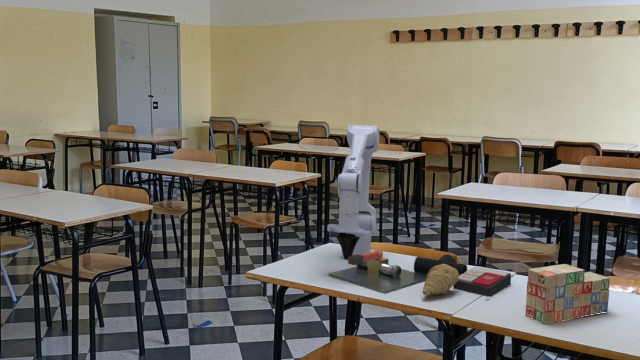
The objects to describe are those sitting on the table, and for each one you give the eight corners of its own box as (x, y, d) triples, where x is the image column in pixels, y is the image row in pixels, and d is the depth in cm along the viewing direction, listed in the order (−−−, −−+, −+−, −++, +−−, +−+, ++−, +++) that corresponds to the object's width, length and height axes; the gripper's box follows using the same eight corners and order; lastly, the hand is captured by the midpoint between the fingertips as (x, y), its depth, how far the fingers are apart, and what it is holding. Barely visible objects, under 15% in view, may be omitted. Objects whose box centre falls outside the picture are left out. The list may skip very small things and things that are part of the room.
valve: (328, 275, 179) (328, 259, 178) (375, 263, 193) (375, 248, 193) (384, 293, 163) (385, 276, 162) (431, 279, 177) (432, 262, 177)
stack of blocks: (587, 305, 157) (591, 260, 155) (607, 313, 151) (612, 266, 149) (524, 316, 148) (527, 268, 146) (543, 325, 142) (547, 275, 141)
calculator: (452, 277, 168) (475, 263, 180) (452, 291, 169) (475, 277, 181) (490, 285, 162) (511, 270, 173) (489, 300, 162) (511, 285, 174)
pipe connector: (428, 249, 192) (474, 256, 184) (427, 265, 193) (473, 273, 185) (414, 258, 182) (462, 266, 174) (413, 275, 183) (461, 283, 175)
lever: (377, 256, 183) (378, 249, 183) (384, 257, 181) (384, 250, 181) (347, 263, 174) (347, 256, 174) (354, 265, 172) (354, 258, 172)
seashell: (442, 305, 155) (443, 275, 154) (413, 299, 159) (414, 269, 158) (460, 291, 166) (461, 263, 165) (432, 286, 171) (433, 258, 170)
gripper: (321, 211, 177) (320, 256, 179) (360, 218, 167) (359, 265, 169) (336, 208, 182) (335, 252, 184) (375, 215, 173) (373, 261, 174)
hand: (347, 258), depth 177 cm, fingers closed
